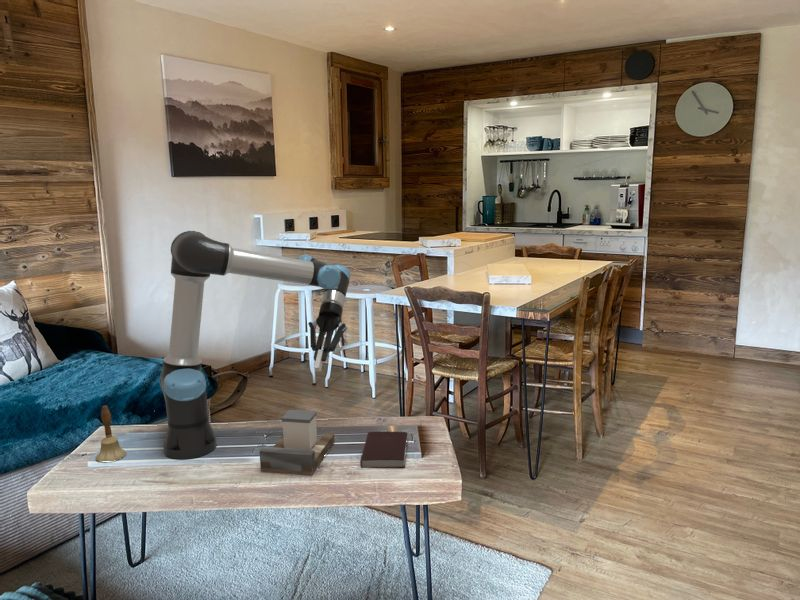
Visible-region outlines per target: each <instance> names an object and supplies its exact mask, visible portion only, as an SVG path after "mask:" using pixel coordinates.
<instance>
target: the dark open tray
mask: <svg viewBox="0 0 800 600" xmlns="http://www.w3.org/2000/svg"><path fill="white" fill-rule="evenodd" d="M334 442H335V433H331V432H324V433H323V435H322V436H321V437H320V438H318V437H317V444H316V445H315V446H314V447H313V449H312V450H303V449H290V448H284V437H283V435H282V436H281V437H280V438H279V440H278V441H277V442H276V443H275V444H274V445H273V446H263V447H261V449H259V462H260V463H259V464H260V467H259V468H260V472H264V473H265V472H266V473H278V474H279V473H280V474H289V475H290V474H291V475H302V476H313V475H314V473H315V472H316V471H317V470H318V467H319V466H320V465H321V463H322V462H323V460H324V459H325V457H324V455H325V454H326V453H327V452H328V450H329V449H330V448H331V449H332V447H333V446H334V444H335V443H334ZM333 443H334V444H333ZM332 445H333V446H332ZM331 446H332V447H331ZM331 449H330V450H331ZM330 450H329V451H330ZM328 453H329V452H328ZM328 453H327V454H328ZM323 458H324V459H323Z"/></svg>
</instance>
